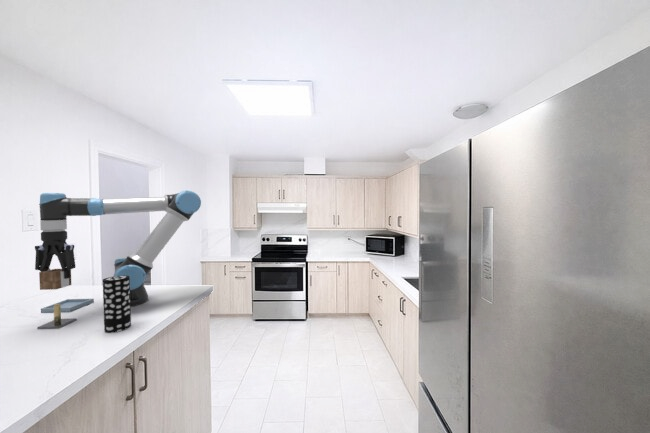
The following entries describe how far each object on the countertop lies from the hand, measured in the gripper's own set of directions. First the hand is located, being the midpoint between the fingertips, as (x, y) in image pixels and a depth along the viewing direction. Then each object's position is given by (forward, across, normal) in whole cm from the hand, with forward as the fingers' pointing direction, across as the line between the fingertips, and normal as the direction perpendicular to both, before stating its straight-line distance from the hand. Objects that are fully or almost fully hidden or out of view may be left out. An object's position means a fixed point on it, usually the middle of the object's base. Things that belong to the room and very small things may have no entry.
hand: (56, 286), depth 108 cm
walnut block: (0, 0, 0) cm, 0 cm away
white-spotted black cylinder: (+16, -28, +5) cm, 33 cm away
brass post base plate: (+16, 0, 0) cm, 16 cm away
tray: (+16, +14, -20) cm, 29 cm away
